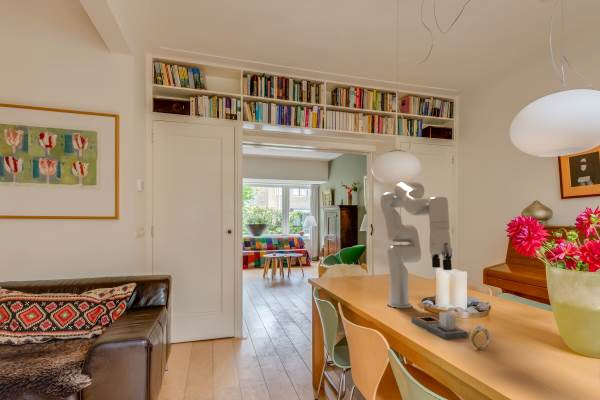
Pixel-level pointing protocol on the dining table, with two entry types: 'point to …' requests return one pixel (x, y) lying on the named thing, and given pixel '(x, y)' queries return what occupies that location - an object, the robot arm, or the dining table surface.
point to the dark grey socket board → (438, 328)
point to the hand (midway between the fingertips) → (441, 268)
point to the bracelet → (478, 332)
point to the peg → (447, 321)
